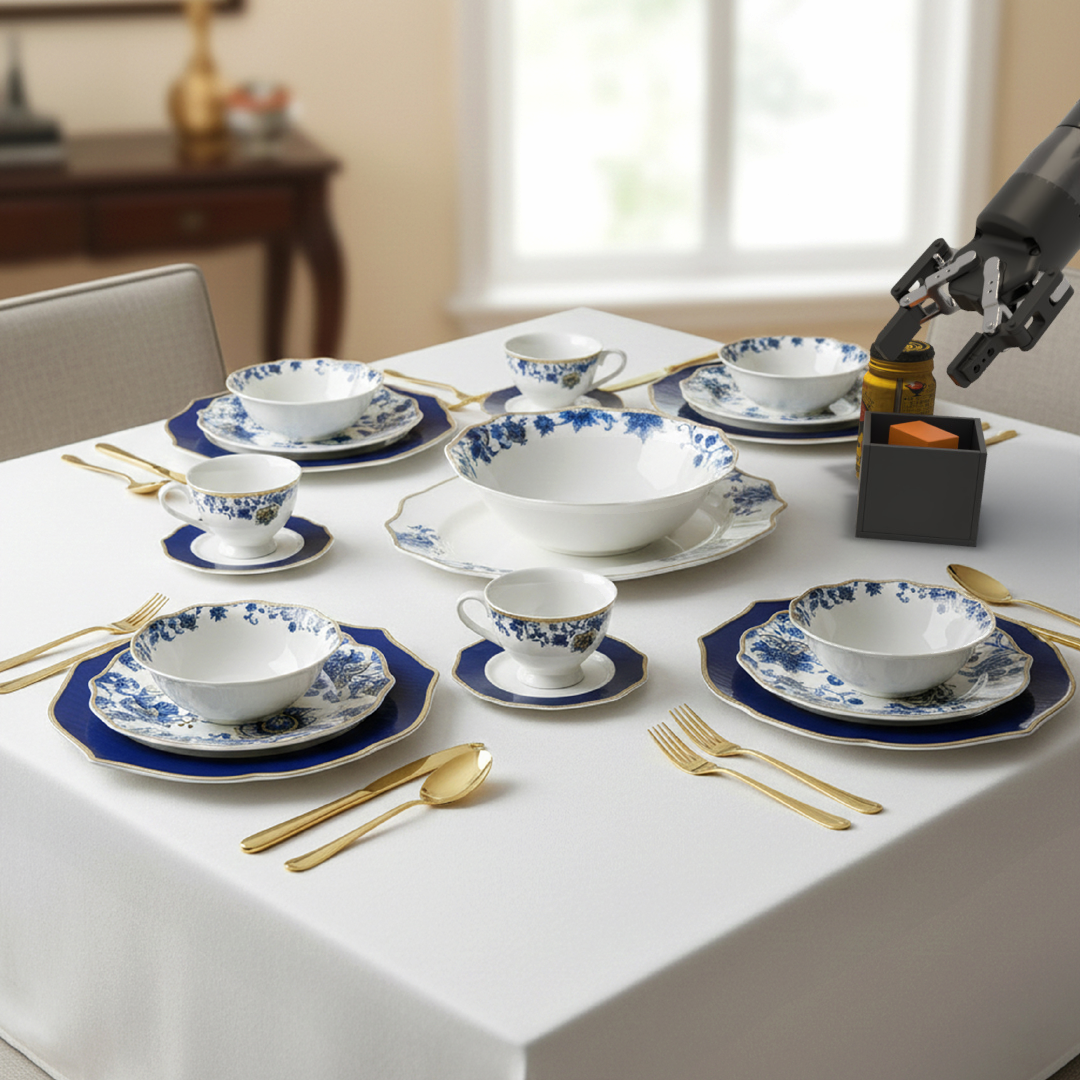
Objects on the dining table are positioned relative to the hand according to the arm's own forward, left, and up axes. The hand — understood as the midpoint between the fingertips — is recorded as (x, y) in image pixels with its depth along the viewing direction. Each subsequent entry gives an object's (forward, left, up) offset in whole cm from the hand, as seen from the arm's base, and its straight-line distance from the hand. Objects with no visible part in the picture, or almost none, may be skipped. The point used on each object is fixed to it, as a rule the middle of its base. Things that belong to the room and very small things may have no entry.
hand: (917, 366), depth 111 cm
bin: (-1, -1, -13) cm, 13 cm away
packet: (-1, -1, -12) cm, 12 cm away
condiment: (0, -11, -13) cm, 17 cm away
